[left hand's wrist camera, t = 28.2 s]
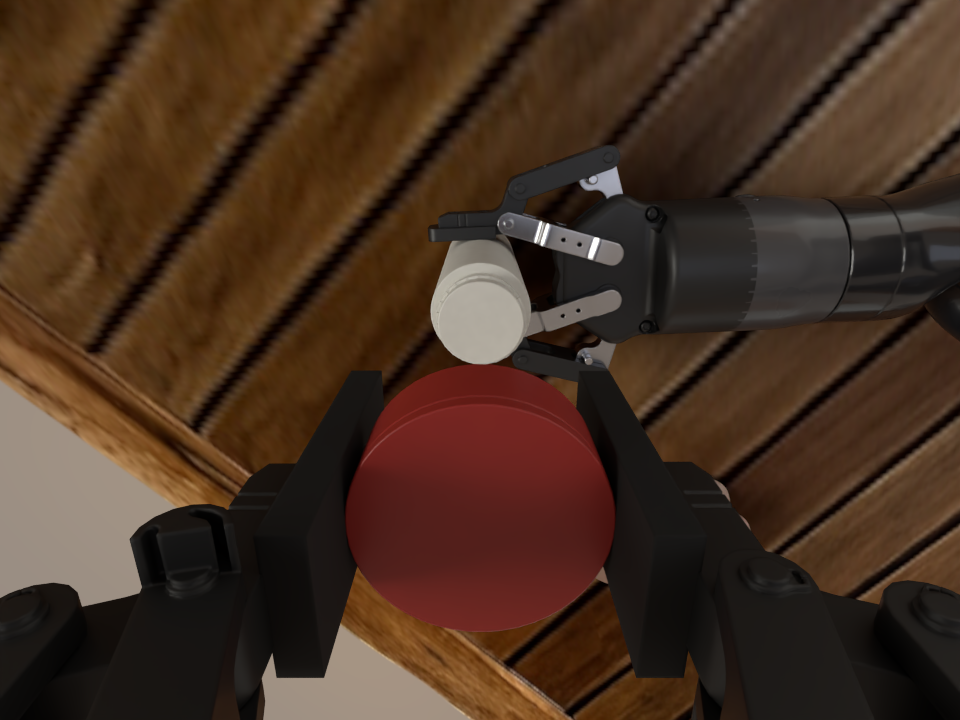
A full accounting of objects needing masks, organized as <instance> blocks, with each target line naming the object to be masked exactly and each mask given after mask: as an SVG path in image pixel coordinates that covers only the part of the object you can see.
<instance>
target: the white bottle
mask: <svg viewBox="0 0 960 720" xmlns="http://www.w3.org/2000/svg"><path fill="white" fill-rule="evenodd" d="M530 317H531V305H530V300H529V296H528V293H527V290H526V287H525V284H524V281H523V278H522V276H521V273H520V270H519V267H518V264H517V261H516V258H515V255H514V252H513V250H512V247H511V244H510V242H509V240H508V239H507V237H506V236H505V235H504V234H503V235H496V239H488V240H465V241H452V243H451V245H450V248H449V251H448V254H447V257H446V260H445V263H444V266H443V269H442V272H441V274H440V277H439V280H438V283H437V286H436V289H435V292H434V295H433V299H432V303H431V319H432V323H433V326H434V329H435V331H436V333H437V335H438V337H439V338H440V340H441V341H442V342H443V344H444V346H445V347H446V348H447V349H448V350H449V351H450V352H451V353H452V354H453V355H455V356H456V357H458V358H459V359H461V360H463V361H466V362H469V363H473V364H489V363H494V362H498V361H500V360H502V359H504V358H507V357H508V356H509V355H510V354H511V353H512V352H513V351H515V350H516V349H517V347H518V346H519V344H520V343H521V342H522V339H523V337H524V335H525V333H526V331H527V329H528V326H529V323H530Z"/></svg>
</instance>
